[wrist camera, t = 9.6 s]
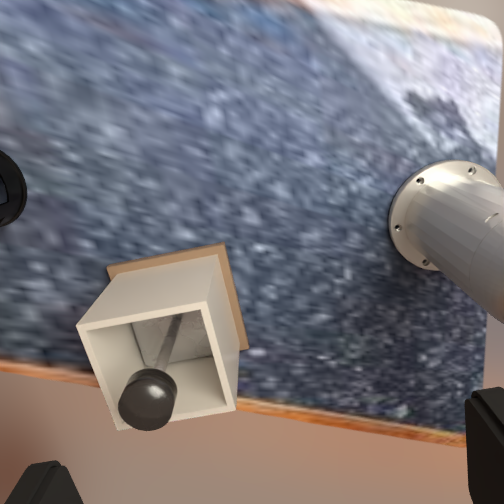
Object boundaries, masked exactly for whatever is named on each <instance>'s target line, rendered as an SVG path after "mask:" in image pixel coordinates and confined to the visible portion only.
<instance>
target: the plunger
mask: <svg viewBox="0 0 504 504" xmlns="http://www.w3.org/2000/svg"><path fill="white" fill-rule="evenodd" d="M131 324H132V327H133V330H134V333H135V335H136V338H137V341H138V344H139V347H140V350H141V353H142V356H143V359H144V362H145V365H146V367H148V366H153V368H146V369H141V370H139V371H137V372H135V373H134V374H132V375H131V377H130V378H129V380H128V382H127V384H126V386H125V388H124V390H123V393H122V395H121V397H120V399H119V402H118V411H119V414H120V416H121V418H122V419H123V420H124V422H126V423H127V424H128V425H129V426H131V427H133V428H136V429H138V430H144V431H151V430H156V429H159V428H161V427H163V426H164V425H165V424H166V423H168V422H169V420H170V418H171V416H172V412H173V408H174V404H175V401H176V397H177V385H176V383H175V381H174V380H173V378H172V377H171V376H170V375H168V374H167V373H165V371H166V368H167V365H168V363H171V362H176V361H182V360H188V359H193V358H199V357H204V356H210V355H213V353H212V349H211V345H210V342H209V338H208V335H207V331H206V327H205V324H204V320H203V317H202V313H201V309H200V310H195V311H189V312H184V313H179V314H173V315H168V316H163V317H157V318H152V319H146V320H141V321H136V322H131Z"/></svg>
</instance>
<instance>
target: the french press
mask: <svg viewBox="0 0 504 504" xmlns="http://www.w3.org/2000/svg"><path fill="white" fill-rule="evenodd" d="M0 177H1V178H2V181H3V183H4V185H5V188H6V192H7V202H6V203H3V204H0V227H2V226H5V225H7V224H9V223H11V222H13V221H14V220H15V219H17V218H18V217H19V216H20V214H21V213H22V211H23V210H24V207H25V205H26V200H27V186H26V182H25V179H24V177H23V174H22V172H21V170H20V169H19V167H18V166H17V164H16V163H15V162H14V161H13V160H12V159H11V158H10V157H9V156H8V155H6V154H5V153H4V152H3V151H1V150H0Z"/></svg>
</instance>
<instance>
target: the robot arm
mask: <svg viewBox="0 0 504 504" xmlns="http://www.w3.org/2000/svg"><path fill="white" fill-rule="evenodd" d="M469 168H470V171H469V172H468V170H469ZM418 178H419V181H418V182H416V180H417V179H418ZM396 225H398V227H397V228H395V226H396ZM389 232H390V236H391V239H392V241H393V243H394V245H395V247H396V249H397V250H398V251H399V252H400V253H401V255H402V256H403V257H405V258H406V259H407V260H408V261H409V262H411V263H412V264H414V265H416V266H418V267H420V268H423V269H427V270H433V271H441V272H442V273H443V274H445V275H446V276H447V277H448V278H449V279H450V280H451V281H453V282H454V283H455V284H456V285H457V286H458V287H459V288H460V289H462V290H463V291H464V292H465V293H466V294H467V295H468V296H470V297H471V298H472V299H473V300H474V301H475V302H476V303H477V304H479V305H480V306H481V307H482V308H483V309H485V310H486V311H487V312H488V313H489V314H490V315H492V316H493V317H494V318H496V319H497V320H498V321H500V322H501V323H503V324H504V189H503V188H502V187H501V185H500V183H499V182H498V181H497V179H496V177H495V176H494V175H493V174H492V173H490V172H489V171H488V170H487V169H485V168H484V167H482V166H480V165H478V164H475V163H472V162H468V161H463V160H444V161H439V162H435V163H433V164H430V165H428V166H425V167H424V168H422V169H420V170H419V171H417V172H415V173H414V174H413V175H412V176H411V177H410V178H409V179H407V180H406V181H405V183H404V184H403V185H402V186H401V188H400V189H399V190H398V192H397V194H396V196H395V197H394V199H393V202H392V205H391V208H390V213H389ZM423 260H425V261H423ZM422 261H423V262H422ZM465 422H466V443H467V465H468V486H469V492H470V496H471V499H472V501H473V504H504V389H503V388H501V387H495V388H489V389H483V390H477V391H473V392H472V395H471V399H466V400H465ZM5 504H83V501H82V499H81V497H80V495H79V493H78V491H77V489H76V487H75V484H74V482H73V480H72V478H71V476H70V474H69V471H68V469H67V468H66V467H65V466H61V464H60V463H59V462H58V461H56V460H55V461H48V462H42V463H36V464H31V465H30V466H28V468H27V469H26V470H25V472H24V473H23V475H22V476H21V478H20V479H19V481H18V483H17V484H16V486H15V488H14V489H13V491H12V492H11V494H10V496H9V497H8V499H7V500H6V502H5Z"/></svg>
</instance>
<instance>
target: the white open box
mask: <svg viewBox="0 0 504 504" xmlns="http://www.w3.org/2000/svg"><path fill="white" fill-rule="evenodd" d="M107 271H108V274H109V277H110V279H111V282H110V284H109V285H108V286H107V287H106V289H105V290H104V291H103V292H102V293H101V295H100V296H99V297H98V298H97V300H96V301H95V302H94V303H93V305H92V306H91V307H90V308H89V310H88V311H87V312H86V313H85V315H84V316H83V317H82V318H81V320H80V321H79V322H78V323H77V325H76V327H77V330H78V332H79V335H80V337H81V340H82V342H83V345H84V348H85V350H86V353H87V355H88V358H89V360H90V363H91V365H92V368H93V370H94V373H95V375H96V378H97V380H98V383H99V385H100V388H101V390H102V393H103V396H104V398H105V401H106V403H107V406H108V408H109V411H110V413H111V416H112V418H113V421H114V423H115V426H116V428H117V430H123V429H130V428H133V427H131V426H129V425H128V424H127V423H126V422H124V420H123V419H122V418H121V416H120V414H119V411H118V402H119V399H120V397H121V395H122V393H123V390H124V388H125V386H126V384H127V382H128V380H129V378H130V377H131V375H132V374H134V373H135V372H137V371H139V370H141V369H146V368H153V366H148V367H146V365H145V362H144V359H143V356H142V353H141V350H140V347H139V344H138V341H137V338H136V335H135V333H134V330H133V327H132V324H131V322H136V321H141V320H146V319H152V318H157V317H163V316H168V315H173V314H179V313H184V312H189V311H195V310H200V309H201V313H202V317H203V320H204V324H205V327H206V331H207V335H208V338H209V342H210V345H211V349H212V353H213V355H210V356H204V357H199V358H193V359H188V360H182V361H176V362H171V363H168V365H167V368H166V371H165V373H167V374H168V375H170V376H171V377H172V378H173V380H174V381H175V383H176V385H177V397H176V401H175V404H174V408H173V412H172V416H171V418H170V420H169V422H171V421H177V420H183V419H189V418H195V417H201V416H207V415H213V414H219V413H224V412H231V411H236V402H237V384H238V366H239V351H240V350H246V349H249V341H248V337H247V333H246V329H245V324H244V320H243V316H242V312H241V308H240V304H239V300H238V295H237V291H236V287H235V283H234V279H233V275H232V271H231V266H230V262H229V258H228V254H227V250H226V246H225V242H221V243H216V244H211V245H206V246H201V247H196V248H191V249H185V250H180V251H175V252H170V253H165V254H160V255H155V256H150V257H145V258H140V259H135V260H130V261H125V262H120V263H115V264H110V265H108V266H107Z"/></svg>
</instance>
